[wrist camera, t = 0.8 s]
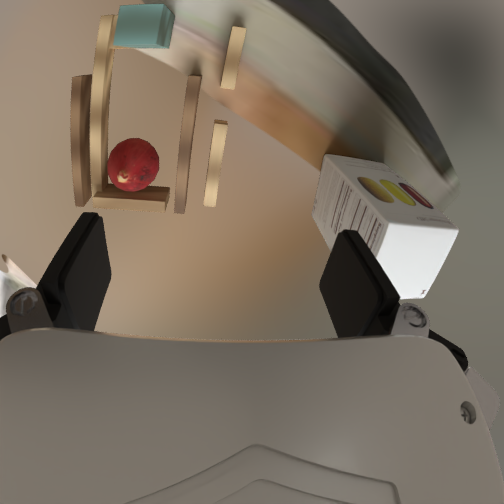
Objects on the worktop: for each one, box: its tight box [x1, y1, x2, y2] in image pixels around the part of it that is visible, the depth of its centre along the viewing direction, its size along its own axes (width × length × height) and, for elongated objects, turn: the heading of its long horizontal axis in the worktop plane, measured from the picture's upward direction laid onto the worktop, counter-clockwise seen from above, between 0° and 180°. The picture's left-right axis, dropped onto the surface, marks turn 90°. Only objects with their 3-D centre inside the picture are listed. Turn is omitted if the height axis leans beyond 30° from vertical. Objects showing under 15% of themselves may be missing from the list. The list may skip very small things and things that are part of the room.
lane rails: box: [71, 75, 202, 214], centre depth 29 cm, size 16×14×3 cm
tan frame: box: [90, 4, 175, 213], centre depth 25 cm, size 22×10×7 cm, turn 169°
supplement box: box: [312, 154, 459, 299], centre depth 31 cm, size 10×9×17 cm
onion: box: [107, 138, 159, 192], centre depth 28 cm, size 6×6×8 cm
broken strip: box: [204, 26, 246, 207], centre depth 29 cm, size 21×1×2 cm, turn 169°
